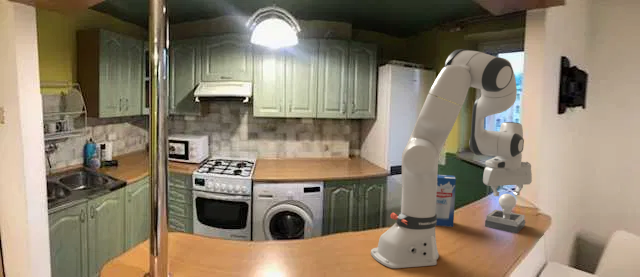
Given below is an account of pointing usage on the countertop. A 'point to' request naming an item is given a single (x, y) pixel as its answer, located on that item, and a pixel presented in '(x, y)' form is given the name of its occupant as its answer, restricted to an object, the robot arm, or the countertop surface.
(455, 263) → the countertop surface
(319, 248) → the countertop surface
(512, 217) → the socket
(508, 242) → the countertop surface
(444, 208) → the milk carton
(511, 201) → the lightbulb
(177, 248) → the countertop surface
